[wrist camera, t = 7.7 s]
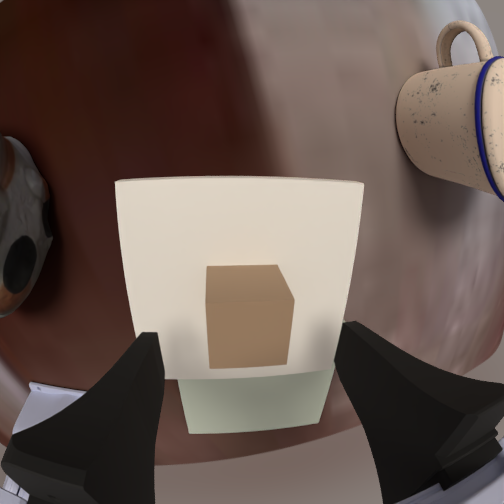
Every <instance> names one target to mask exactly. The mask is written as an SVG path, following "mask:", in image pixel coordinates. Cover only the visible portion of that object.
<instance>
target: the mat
mask: <svg viewBox="0 0 504 504" xmlns="http://www.w3.org/2000/svg"><path fill="white" fill-rule="evenodd" d="M344 322H345V320H344V319H343V321H342V323H344ZM341 327H342V326H341ZM340 332H341V330H340ZM339 336H340V334H339ZM338 341H339V339H338ZM337 345H338V343H337ZM336 349H337V347H336ZM335 353H336V351H335ZM334 358H335V355H334ZM334 369H335V363H334V359H333V363H332V367H331V369H328V370H321V371H314V372H305V373H297V374H287V375H277V376H265V377H250V378H231V379H178V384H179V389H180V394H181V399H182V404H183V408H184V413H185V417H186V422H187V426H188V430H189V434H205V433H234V432H249V431H261V430H271V429H280V428H288V427H295V426H302V425H308V424H314V423H319V420H320V417H321V413H322V410H323V407H324V404H325V400H326V397H327V394H328V390H329V387H330V383H331V380H332V376H333V372H334Z"/></svg>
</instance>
